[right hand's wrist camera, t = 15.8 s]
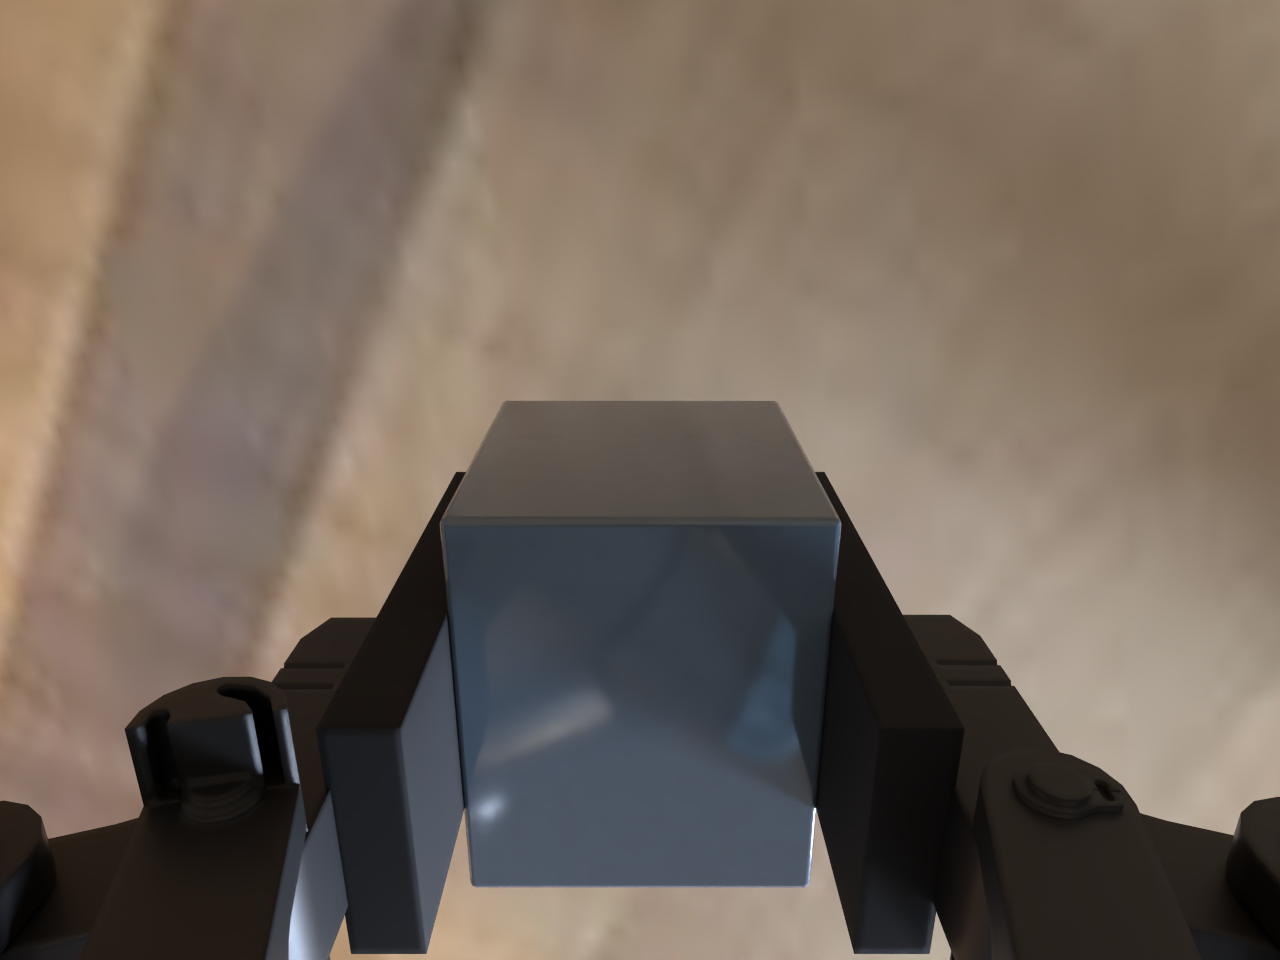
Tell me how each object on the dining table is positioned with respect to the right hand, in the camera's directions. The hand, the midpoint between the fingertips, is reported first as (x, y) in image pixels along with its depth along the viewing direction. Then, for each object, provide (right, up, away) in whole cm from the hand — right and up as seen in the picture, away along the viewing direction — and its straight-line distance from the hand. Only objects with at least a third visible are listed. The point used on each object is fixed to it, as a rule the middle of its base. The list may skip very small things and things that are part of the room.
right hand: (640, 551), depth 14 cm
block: (0, 0, 0) cm, 0 cm away
